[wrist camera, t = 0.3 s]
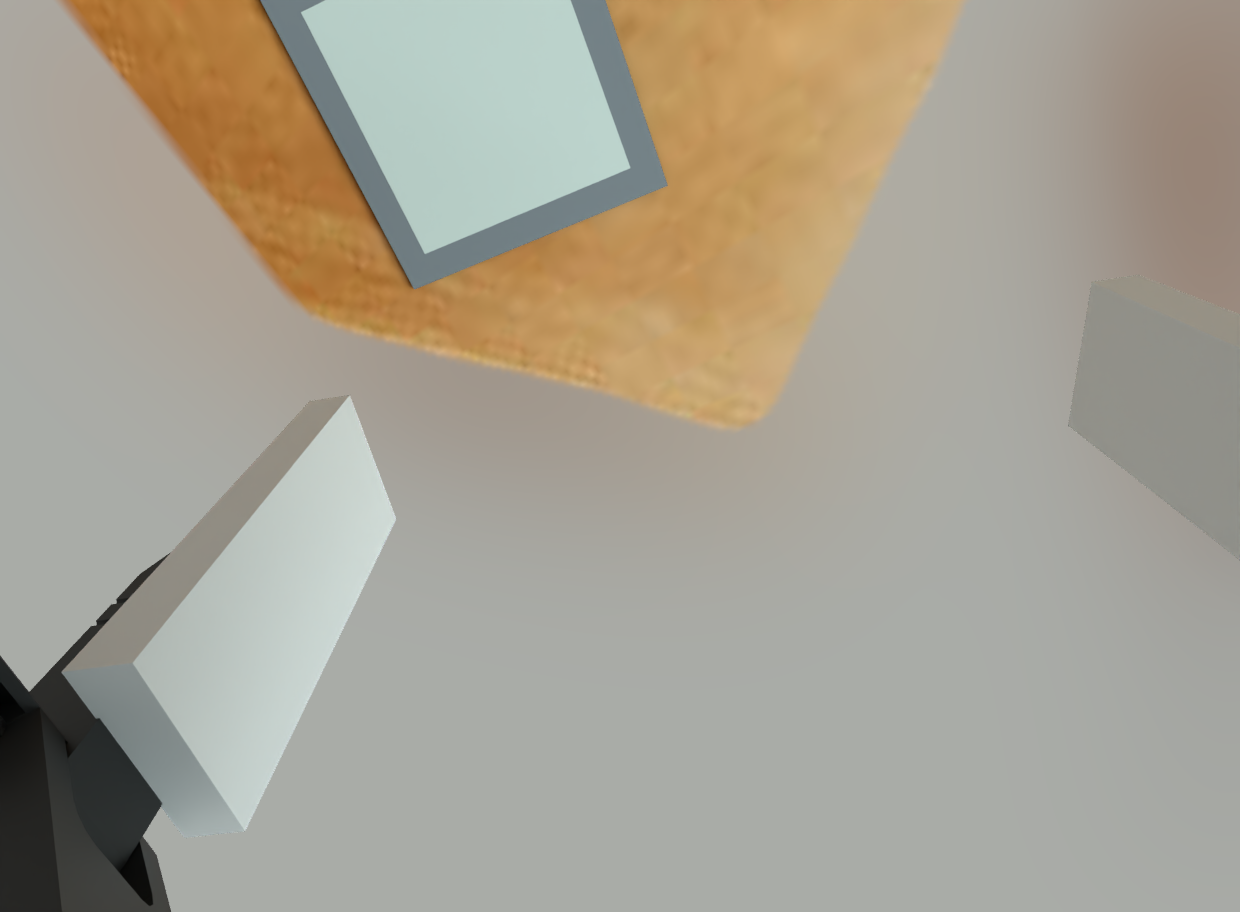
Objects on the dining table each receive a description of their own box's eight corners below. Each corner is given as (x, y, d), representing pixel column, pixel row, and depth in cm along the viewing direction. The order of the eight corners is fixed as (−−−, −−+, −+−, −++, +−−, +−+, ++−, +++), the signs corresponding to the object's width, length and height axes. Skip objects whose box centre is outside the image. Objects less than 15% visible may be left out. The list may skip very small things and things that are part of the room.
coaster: (259, -9, 33) (255, -10, 33) (551, -159, 31) (550, -162, 30) (416, 287, 40) (414, 289, 39) (667, 184, 37) (667, 185, 37)
